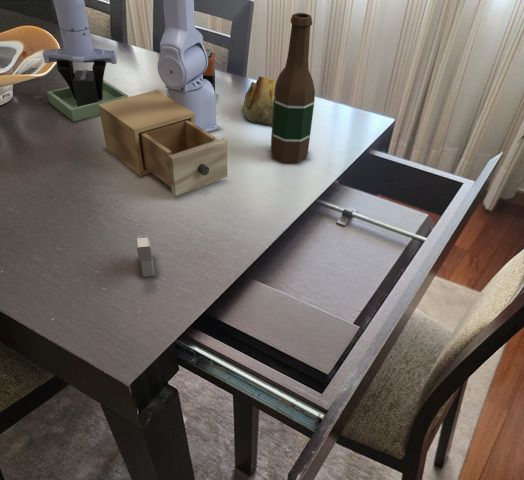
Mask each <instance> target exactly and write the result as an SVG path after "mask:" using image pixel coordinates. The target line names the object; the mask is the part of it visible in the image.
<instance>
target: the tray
mask: <svg viewBox="0 0 524 480" xmlns="http://www.w3.org/2000/svg"><path fill="white" fill-rule="evenodd" d="M102 91H103V98H102V100H101V101H100V102H96V103H92V104H88V105H84V106H79V107H78V106H77V101H76V100H75V99H74V96H73V94H72V91H71V89H70V87H69V86H67V87H63V88H58V89H57V88H56V89H54V90H48V91H46V93H47V94H46V95H47V97H48V101H49V104H50V105H52V106H53V107H54V108H55V109H57V110H58V111H59V112H61V113H62V114H64V116H66V117H67V118H68V119H69V120H71V121H72V122H74V123H75V122H78V121H82V120H86V119H90V118H94V117H98V116H100V112H99V107H98V104H102V103H106V102H110V101H114V100H118V99H122V98H126V97H130V95H128V94H127V93H125V92H124V91H122V90H121V89H119V88H118V87H116V86H114V85H113V84H111V83H110V82H108V81H107V80H105V79H103V88H102Z"/></svg>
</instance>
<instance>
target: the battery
mask: <svg viewBox="0 0 524 480" xmlns="http://www.w3.org/2000/svg"><path fill="white" fill-rule="evenodd" d="M205 51H206V53H207V56H208V66H207V69H206V71H205V72H204V73H203V79H206V80H208V81H209V82H210V83H211V84H212V86H213V88H214V91H215V92H216V62H215V61H216V59H215V57H216V56H215V55H216V54H215V53H214V52H211V50H210V49H208V48H205Z"/></svg>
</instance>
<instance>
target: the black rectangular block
mask: <svg viewBox="0 0 524 480" xmlns="http://www.w3.org/2000/svg"><path fill="white" fill-rule="evenodd" d="M72 84H73V88H74V92H75V97H76V101H77V106H78V107H79V106H84V105H88V104H92V103H96V102H100V101H101V100H99V98H98V93H97V85H96V81H95V76H94V73H93V70H88V69H82V70H79V69H78V70H75V71H74V76H73V79H72Z"/></svg>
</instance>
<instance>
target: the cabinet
mask: <svg viewBox="0 0 524 480" xmlns="http://www.w3.org/2000/svg"><path fill="white" fill-rule="evenodd" d="M98 107H99V112H100V115H99V116H100V122H101V127H102V132H103V137H104V142H105V147H106V151H108V152H109V153H110V154H112V155H113V156H114V157H115V158H117V159H118V160H119V161H120V162H122V163H123V164H124V165H126V166H127V167H128V168H129V169H130V170H132V171H133V172H134V173H135V174H137V175H138V176H140V177H142V176H146V175H149V174H153V173H152V172H150V171H149V170H148V169H146V168H145V167H144V166H143V159H142V152H141V144H140V137H139V133H141V132H144V131H147V130H151V129H154V128H158V127H161V126H165V125H168V124H172V123H175V122H179V121H182V120H186V119H187V120H189V121H190V122H192V123H194V124H195V119H194V112H192V111H191V110H189V109H187V108H186V107H184V106H182V105H181V104H179V103H177V102H176V101H174V100H172V99H171V98H169V97H167V95H166V94H164V93H163V92H161V91H159V90H157V89H155V90H151V91H147V92H143V93H138V94H135V95H131V96H129V97H126V98H122V99H118V100H114V101H110V102H106V103H102V104H98Z"/></svg>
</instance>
